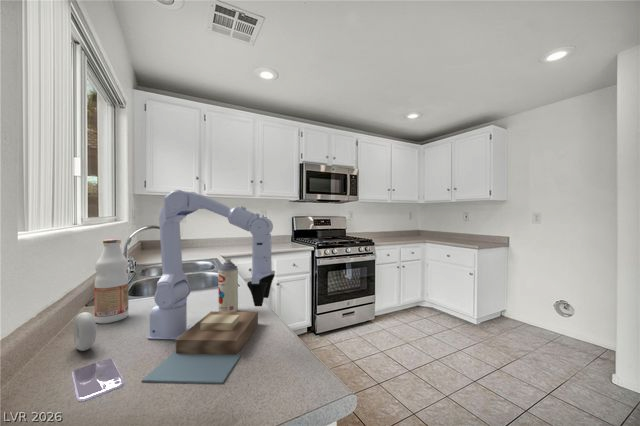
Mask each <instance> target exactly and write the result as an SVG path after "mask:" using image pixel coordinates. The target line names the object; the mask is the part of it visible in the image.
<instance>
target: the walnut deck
mask: <svg viewBox="0 0 640 426" xmlns="http://www.w3.org/2000/svg"><path fill="white" fill-rule="evenodd" d="M209 315H239V322H238V324H237V325H236V326H235V327H234V328H233V329H232V330H200V323H201V322H202V321H203V320H204V319H206V318H207V317H208V316H209ZM258 325H259V312H258V311H238V312H219V311H210V312H209V313H207V314H206V315H205V316H203V317H202V318H201V319H200V320H198V321H197V322H196V323H195V324H194V325H192V326H190V327H191V328H190V329H189V330H187V331H186V332H185V333H184V334H182V335H181V336H180V337H179V338H177V339H175V352H176V354H229V355H237V353H241V350H242V349H243V347H244V345H245V344H246V343H247V341H248V340H249V338H250V337H251V336H252V333H253V332H254V330H256V328H257V326H258Z"/></svg>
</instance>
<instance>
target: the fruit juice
mask: <svg viewBox="0 0 640 426" xmlns="http://www.w3.org/2000/svg"><path fill="white" fill-rule="evenodd" d="M121 242H122V240H121V239H120V238H112V239H111V238H109V239H103V240H102V243H103V249H102V252H101V254H100V255H99V258H98V259H97V260H96V262H95V266H94V268H95V272H96V277H95V279H94V319H95V323H96V324H110V323H115V322H119V321H122V320H124V319H126V318H127V317H128V316H129V275H128V272H127V270H128V266H129V261H128V259H127V258H126V256H125V255H124V253H123V250H122V248H121Z"/></svg>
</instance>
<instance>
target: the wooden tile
mask: <svg viewBox="0 0 640 426" xmlns="http://www.w3.org/2000/svg"><path fill="white" fill-rule="evenodd" d="M238 322H239V315H209V316H208V317H207V318H206V319H204V320H203V321H202V322H201V323H200V330H232V329H233V328H234V327H235V326H236V325H237V324H238Z"/></svg>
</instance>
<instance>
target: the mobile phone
mask: <svg viewBox="0 0 640 426" xmlns="http://www.w3.org/2000/svg"><path fill="white" fill-rule="evenodd" d="M71 377H72V381H73V386H74V392H75V396H76V399H77V402H79V401H80V403H81V401H82V402H86V401H88V400H91V399H93V397H94V398H96V397H98V396H101V395H104V394H106V393H109V392H111V391H113V390H116V389H119V388H121V387H123V386H124V385H125V380H124V378H123V376H122V374H121V373H120V371H119V368H118V367H117V365H116V363H115V361H114V360H113V359H112V358H107V359H104V360H101V361H97V362H95V363H90V364H88V365H85V366H82V367H77V368H75V369H74V370H73V371H72V372H71ZM85 400H86V401H85Z"/></svg>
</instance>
